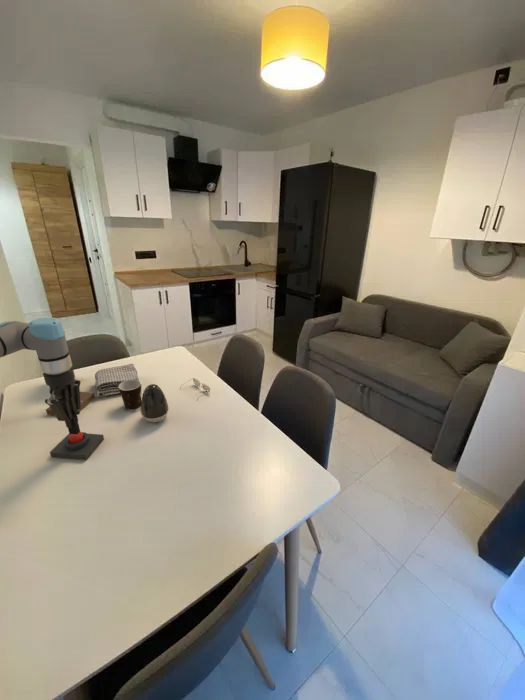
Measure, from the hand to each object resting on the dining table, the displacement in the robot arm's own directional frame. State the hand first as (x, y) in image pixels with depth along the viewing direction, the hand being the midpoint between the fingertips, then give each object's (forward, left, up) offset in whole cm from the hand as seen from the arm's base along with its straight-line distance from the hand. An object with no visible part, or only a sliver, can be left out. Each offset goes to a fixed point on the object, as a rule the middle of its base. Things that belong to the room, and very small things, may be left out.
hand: (74, 432), depth 96 cm
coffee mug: (+6, +25, -7) cm, 27 cm away
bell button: (0, 0, -3) cm, 3 cm away
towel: (-7, +40, -7) cm, 41 cm away
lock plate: (-18, +23, -7) cm, 30 cm away
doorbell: (0, 0, -7) cm, 7 cm away
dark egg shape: (+19, +19, -7) cm, 28 cm away
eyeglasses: (+29, +40, -7) cm, 50 cm away
